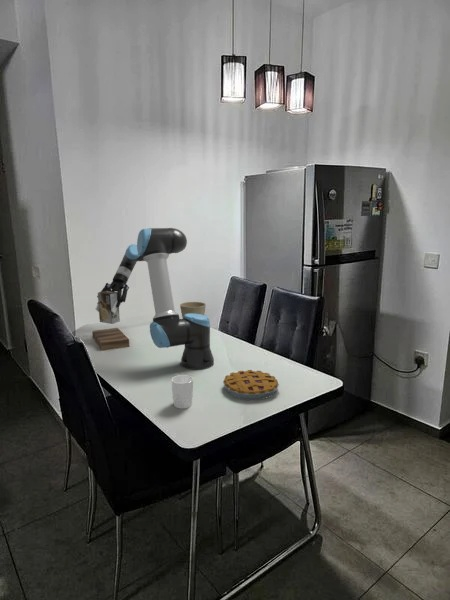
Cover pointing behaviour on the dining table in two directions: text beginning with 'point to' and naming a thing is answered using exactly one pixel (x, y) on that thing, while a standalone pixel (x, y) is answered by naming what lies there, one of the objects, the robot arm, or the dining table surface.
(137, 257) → the robot arm
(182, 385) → the white cup
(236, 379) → the pie
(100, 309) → the coffee box
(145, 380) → the dining table surface
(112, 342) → the walnut stand
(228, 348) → the dining table surface
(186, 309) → the plant pot
